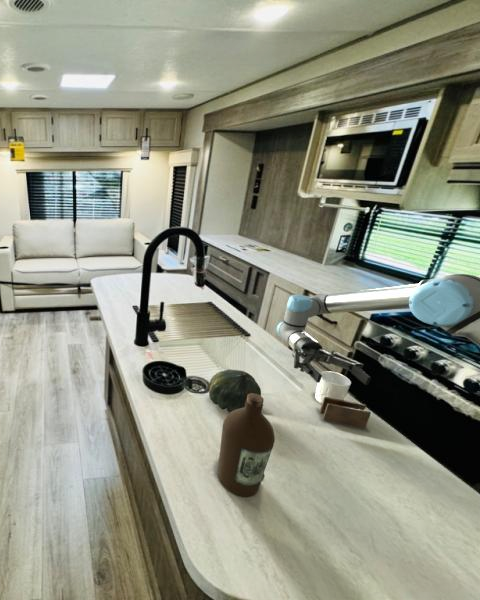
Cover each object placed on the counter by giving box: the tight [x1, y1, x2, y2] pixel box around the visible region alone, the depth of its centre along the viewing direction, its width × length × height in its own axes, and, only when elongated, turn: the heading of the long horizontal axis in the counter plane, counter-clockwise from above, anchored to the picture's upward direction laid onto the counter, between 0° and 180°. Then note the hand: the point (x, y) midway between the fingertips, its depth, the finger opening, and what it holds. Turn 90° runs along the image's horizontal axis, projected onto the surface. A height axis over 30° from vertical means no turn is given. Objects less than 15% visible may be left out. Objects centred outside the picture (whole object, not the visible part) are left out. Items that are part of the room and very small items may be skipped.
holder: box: [319, 397, 372, 430], centre depth 93 cm, size 10×5×7 cm, turn 68°
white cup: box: [314, 370, 352, 404], centre depth 100 cm, size 8×8×10 cm
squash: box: [208, 369, 262, 413], centre depth 100 cm, size 14×15×15 cm
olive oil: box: [216, 393, 276, 498], centre depth 73 cm, size 11×11×25 cm
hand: (343, 380), depth 95 cm, fingers open, 13 cm apart
